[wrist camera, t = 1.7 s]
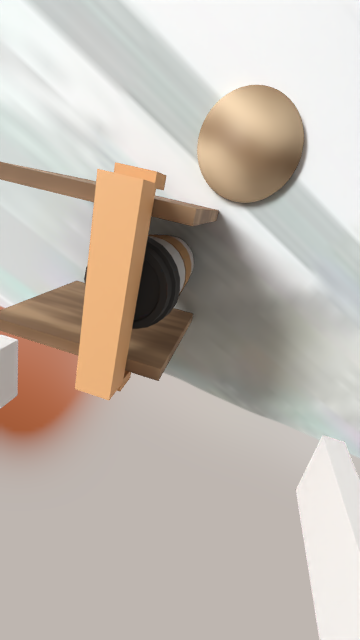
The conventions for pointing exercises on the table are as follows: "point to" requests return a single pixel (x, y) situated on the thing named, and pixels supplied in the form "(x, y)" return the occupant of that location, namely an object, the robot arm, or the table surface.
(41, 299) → the cradle
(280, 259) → the table surface
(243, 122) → the coaster
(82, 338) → the orange notched bar
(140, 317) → the coffee cup
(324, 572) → the robot arm
